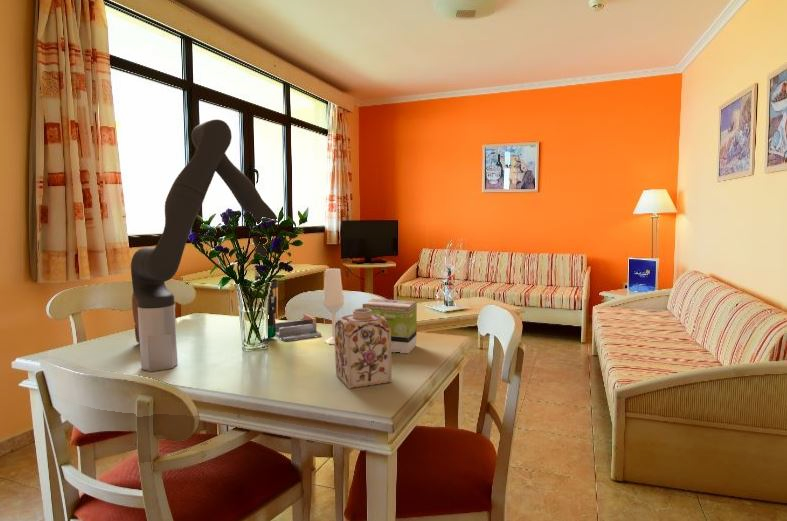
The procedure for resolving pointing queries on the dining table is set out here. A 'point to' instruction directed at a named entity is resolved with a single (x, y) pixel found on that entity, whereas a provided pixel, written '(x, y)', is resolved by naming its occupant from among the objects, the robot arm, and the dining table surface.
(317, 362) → the dining table surface
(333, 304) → the champagne flute
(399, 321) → the tea box
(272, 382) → the dining table surface
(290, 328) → the coupler bracket
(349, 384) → the decorative jar
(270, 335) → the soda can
